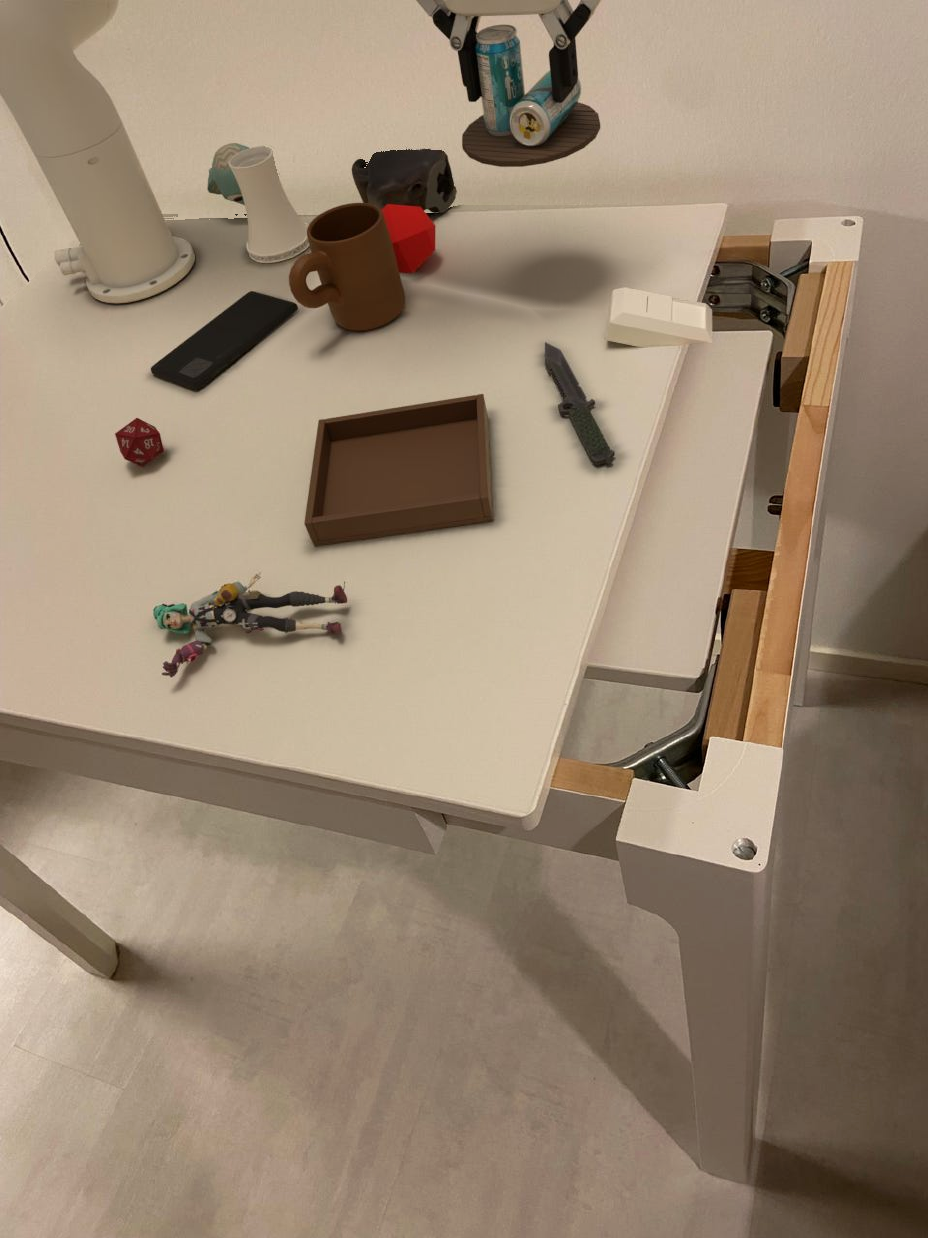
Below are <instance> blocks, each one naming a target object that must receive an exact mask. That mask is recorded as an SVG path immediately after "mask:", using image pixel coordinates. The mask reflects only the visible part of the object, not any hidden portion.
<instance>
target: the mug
mask: <svg viewBox="0 0 928 1238" xmlns="http://www.w3.org/2000/svg"><path fill="white" fill-rule="evenodd" d="M308 225H309V226H308V228H307V237H308V241H309V245H310V246H309V249H310V253H304V254H301V256H300V257H298V259H296V261H294V263H293V265H292V266H291V267H290V270H289V275H288V285H289V289H290V292H291V294H292V296H293V298H294V299H295V301H296V302H297V303H298V304H300V305H301V306H303V307H304V308H307V309H319V308H321V307H323V306H325V305H328V308H329V311H330V314H331V316H332V318H333V320H334V321H335V323H336V324H337V325H339V326H340V327H341V328H343V329H346V330H349V331H357V332H359V331H360V332H361V331H369V330H373V329H377V328H381V327H383V326H385V325H386V324H388V323H390V322H392V321H393V320H395V319H396V318H397V317H398V316H399V315H400V314H401V313H402V311H403V309H404V307H405V303H406V297H405V296H406V295H405V290H404V286H403V282H402V278H401V273H399V269H398V265H397V261H396V257H395V253H394V249H393V245H392V241H391V237H390V234H389V230H388V227H387V224H386V222H385V219H384V215H383V213H382V211H381V210H380V208H378V207H377V206H375V205H373V204H369V203H363V202H351V203H345V204H341V205H338V206H335V207H332V208H329V209H327V210H325V211H323V212H322V213H319V214H318V215H317V216H316V217H315V218H313V219H312V220H311V222H309V223H308ZM313 272H317V275H318V278H319V281H320V284H319V285H318V286H316V287H315V288H313V289H311V288H309V286H308V284H307V277H308V275H309V274H310V273H313Z"/></svg>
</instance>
